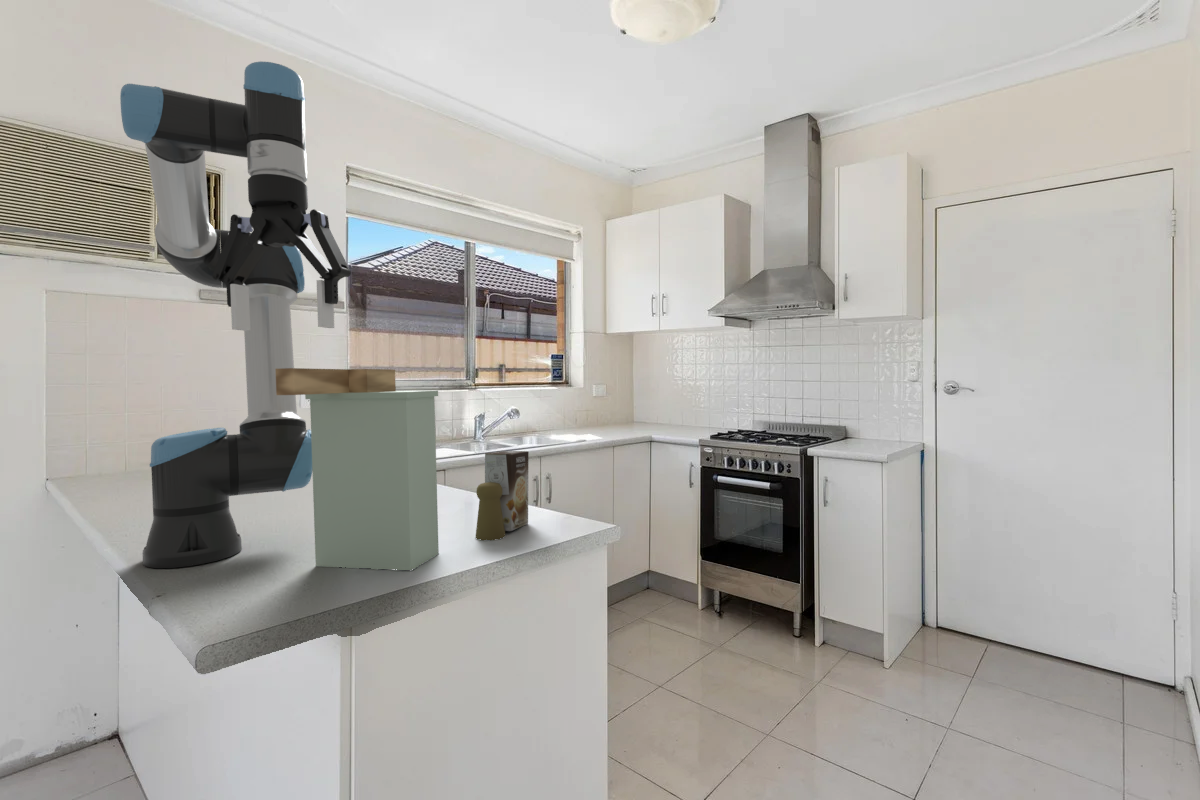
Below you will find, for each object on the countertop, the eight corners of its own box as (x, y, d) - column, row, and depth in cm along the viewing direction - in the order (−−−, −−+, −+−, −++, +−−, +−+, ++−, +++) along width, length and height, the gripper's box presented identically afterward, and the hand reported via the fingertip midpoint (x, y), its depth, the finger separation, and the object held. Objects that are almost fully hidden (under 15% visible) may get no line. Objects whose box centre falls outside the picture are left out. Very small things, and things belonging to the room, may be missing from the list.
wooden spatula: (256, 395, 90) (255, 369, 90) (347, 391, 112) (346, 370, 112) (314, 394, 88) (313, 367, 88) (395, 391, 110) (395, 369, 110)
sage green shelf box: (311, 567, 102) (305, 393, 101) (350, 548, 113) (345, 391, 112) (412, 572, 99) (407, 392, 98) (442, 553, 109) (438, 390, 108)
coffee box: (511, 532, 122) (511, 453, 122) (483, 530, 124) (483, 453, 124) (529, 523, 131) (529, 450, 131) (502, 522, 133) (502, 450, 133)
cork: (499, 541, 117) (498, 485, 117) (470, 540, 118) (469, 485, 118) (509, 533, 123) (508, 480, 123) (482, 532, 124) (481, 480, 124)
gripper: (179, 177, 83) (185, 329, 84) (342, 164, 79) (347, 323, 80) (221, 193, 91) (226, 332, 92) (372, 182, 87) (377, 328, 88)
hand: (283, 329), depth 86 cm, fingers open, 13 cm apart
